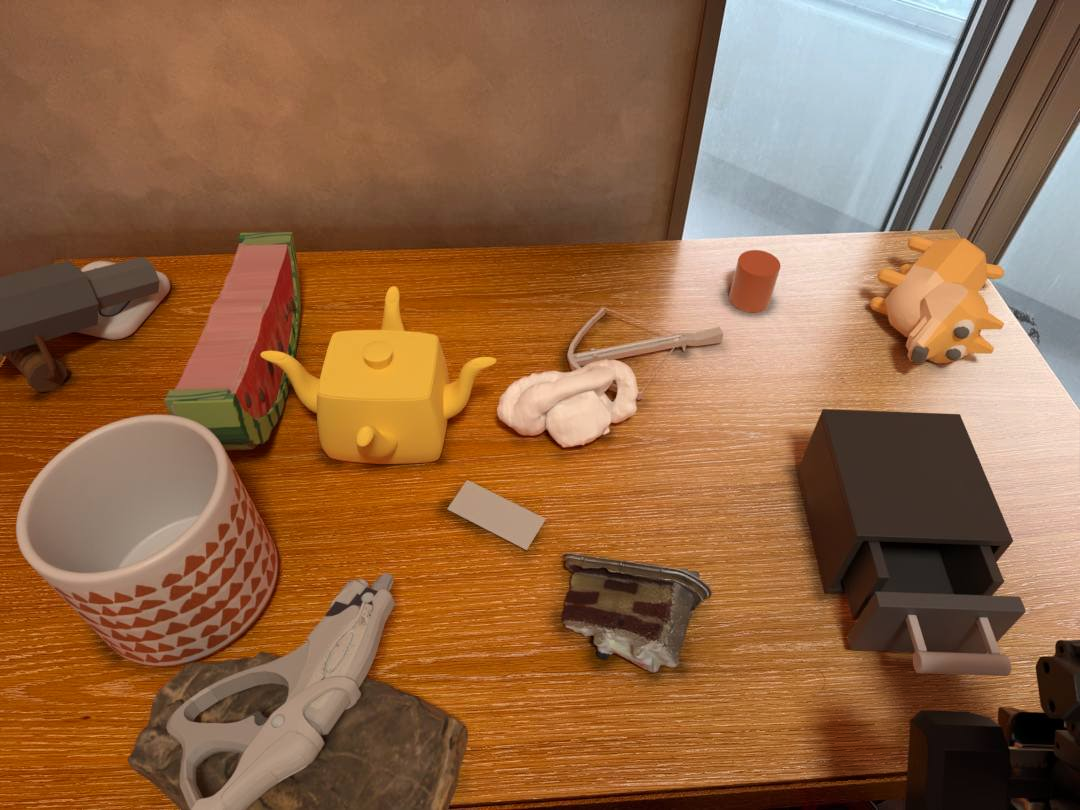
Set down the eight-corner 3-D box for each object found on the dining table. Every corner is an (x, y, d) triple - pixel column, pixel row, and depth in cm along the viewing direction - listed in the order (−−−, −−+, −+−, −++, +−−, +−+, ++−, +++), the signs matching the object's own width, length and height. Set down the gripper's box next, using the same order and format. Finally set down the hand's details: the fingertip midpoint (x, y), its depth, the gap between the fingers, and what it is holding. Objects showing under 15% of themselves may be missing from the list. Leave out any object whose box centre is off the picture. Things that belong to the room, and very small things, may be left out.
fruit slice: (265, 492, 69) (238, 400, 63) (188, 494, 69) (153, 402, 62) (313, 314, 89) (296, 230, 83) (254, 315, 89) (233, 231, 82)
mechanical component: (119, 227, 85) (126, 309, 91) (-75, 271, 73) (-52, 362, 79) (176, 273, 81) (180, 355, 87) (-19, 327, 69) (1, 418, 75)
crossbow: (585, 415, 79) (585, 401, 78) (553, 328, 88) (553, 313, 86) (743, 383, 81) (746, 368, 80) (697, 300, 90) (699, 285, 88)
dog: (846, 294, 81) (983, 344, 74) (929, 207, 91) (1055, 244, 85) (831, 356, 86) (957, 408, 80) (911, 267, 97) (1028, 306, 90)
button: (174, 272, 89) (120, 333, 82) (179, 284, 90) (126, 345, 83) (90, 255, 90) (30, 314, 83) (96, 267, 91) (37, 327, 85)
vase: (193, 489, 71) (130, 388, 62) (315, 554, 66) (268, 455, 57) (62, 618, 64) (-32, 525, 54) (190, 703, 59) (111, 616, 49)
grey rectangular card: (447, 509, 71) (449, 512, 71) (526, 550, 68) (527, 553, 69) (467, 479, 72) (468, 483, 73) (546, 518, 69) (547, 522, 70)
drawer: (1004, 709, 60) (1049, 668, 55) (862, 704, 60) (895, 662, 55) (940, 527, 70) (973, 479, 65) (819, 523, 70) (843, 474, 65)
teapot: (499, 427, 77) (498, 352, 70) (377, 515, 70) (362, 441, 63) (399, 348, 84) (389, 272, 77) (279, 421, 77) (255, 345, 70)
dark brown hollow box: (966, 599, 67) (1014, 541, 60) (824, 594, 67) (857, 535, 60) (922, 475, 75) (960, 413, 69) (796, 471, 75) (822, 408, 69)
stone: (251, 612, 64) (235, 579, 60) (491, 751, 57) (489, 723, 54) (117, 768, 56) (89, 741, 52) (377, 949, 50) (366, 933, 46)
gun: (323, 562, 63) (432, 604, 59) (132, 791, 51) (252, 865, 47) (311, 536, 61) (423, 578, 57) (109, 768, 49) (233, 843, 45)
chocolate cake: (525, 636, 64) (635, 649, 54) (553, 550, 67) (662, 548, 57) (611, 677, 68) (726, 696, 59) (634, 595, 71) (747, 601, 62)
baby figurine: (479, 384, 75) (513, 468, 73) (593, 319, 72) (633, 405, 69) (521, 399, 83) (552, 476, 80) (625, 341, 79) (662, 419, 77)
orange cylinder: (777, 300, 91) (789, 264, 87) (752, 318, 89) (763, 281, 85) (745, 281, 93) (755, 244, 89) (720, 297, 91) (729, 261, 87)
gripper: (1427, 690, 36) (1160, 593, 52) (1001, 675, 36) (862, 582, 52) (1406, 937, 37) (1148, 767, 52) (986, 922, 37) (852, 757, 52)
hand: (1003, 714), depth 52 cm, fingers closed
